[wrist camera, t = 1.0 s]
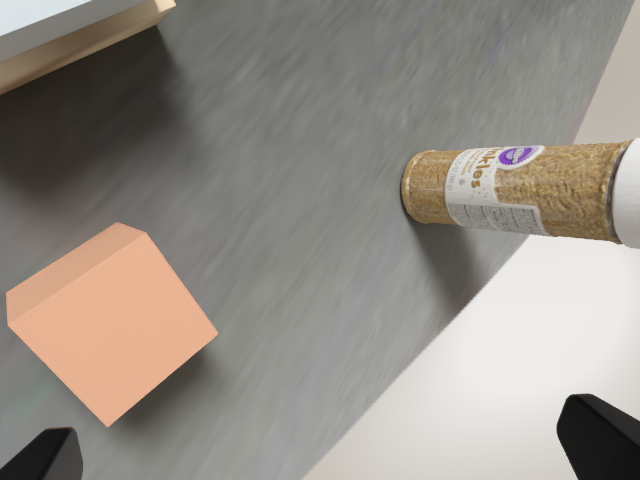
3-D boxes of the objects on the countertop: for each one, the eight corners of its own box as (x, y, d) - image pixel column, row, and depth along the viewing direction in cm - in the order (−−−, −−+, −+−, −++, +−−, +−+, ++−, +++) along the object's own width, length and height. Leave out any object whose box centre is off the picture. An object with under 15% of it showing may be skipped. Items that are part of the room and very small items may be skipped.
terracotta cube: (86, 377, 18) (107, 427, 14) (6, 292, 16) (7, 325, 13) (178, 305, 20) (218, 333, 16) (116, 221, 18) (146, 232, 14)
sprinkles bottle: (423, 134, 27) (701, 106, 17) (457, 184, 30) (721, 188, 19) (385, 191, 26) (660, 201, 15) (423, 239, 29) (686, 277, 18)
